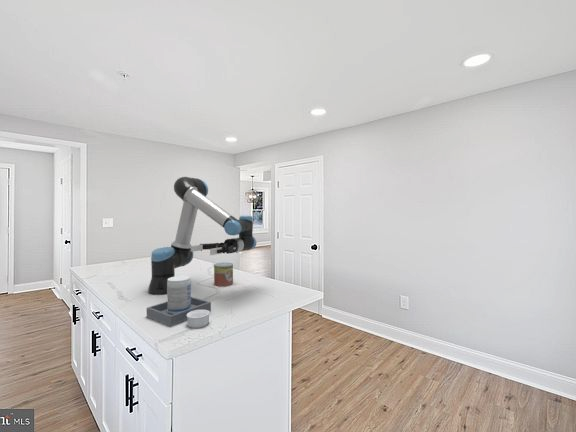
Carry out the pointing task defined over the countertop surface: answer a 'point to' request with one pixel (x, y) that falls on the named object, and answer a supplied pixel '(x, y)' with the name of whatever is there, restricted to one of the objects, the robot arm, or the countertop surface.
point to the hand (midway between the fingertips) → (200, 250)
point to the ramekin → (198, 318)
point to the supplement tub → (178, 294)
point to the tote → (162, 315)
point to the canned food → (223, 274)
